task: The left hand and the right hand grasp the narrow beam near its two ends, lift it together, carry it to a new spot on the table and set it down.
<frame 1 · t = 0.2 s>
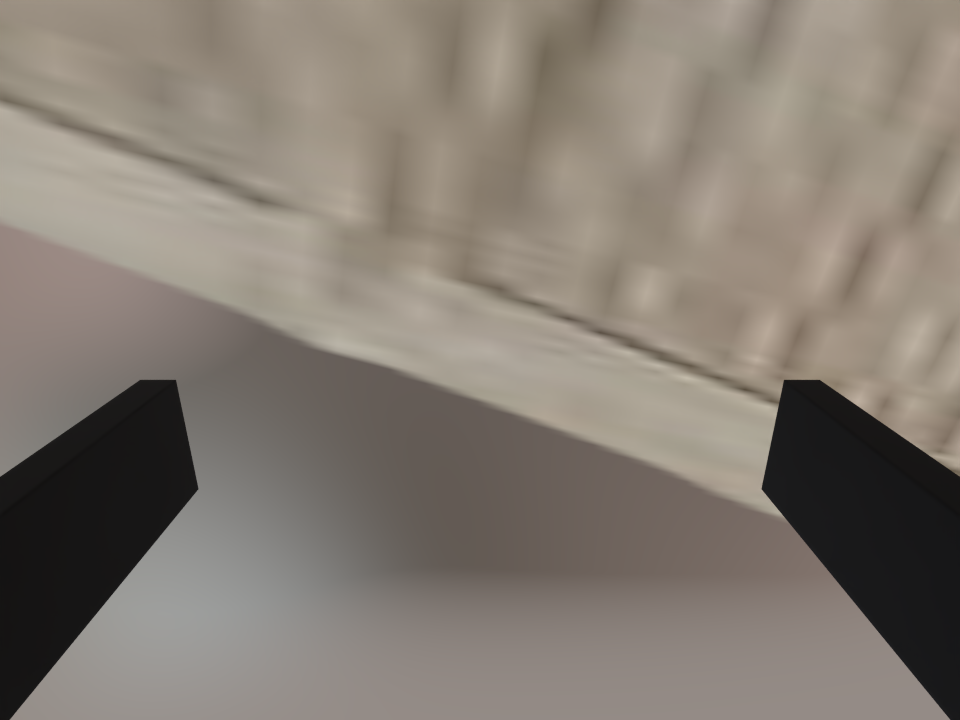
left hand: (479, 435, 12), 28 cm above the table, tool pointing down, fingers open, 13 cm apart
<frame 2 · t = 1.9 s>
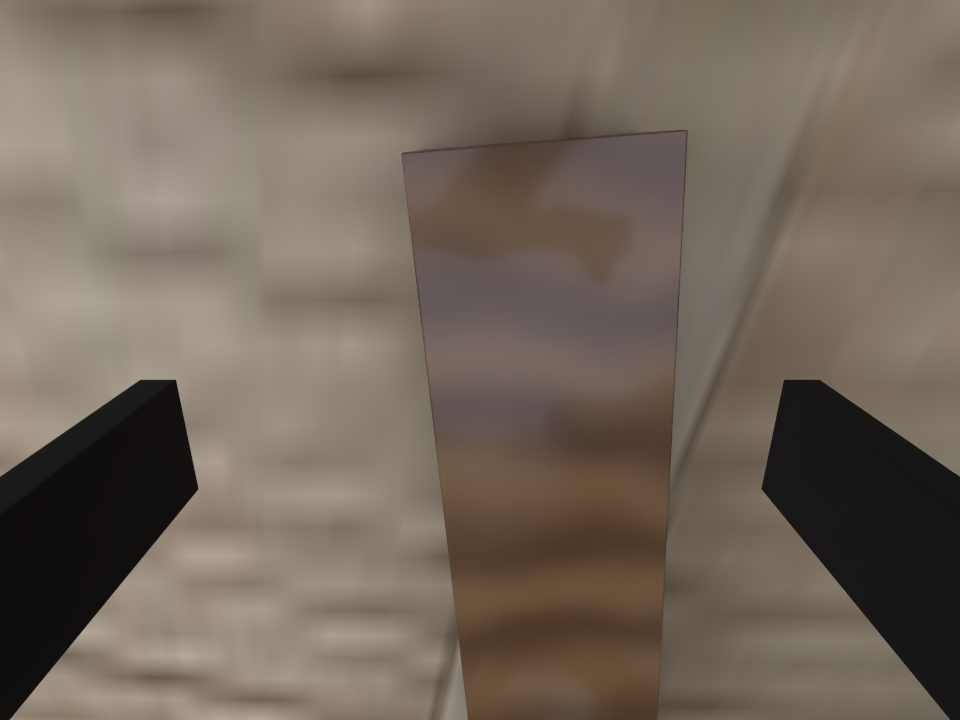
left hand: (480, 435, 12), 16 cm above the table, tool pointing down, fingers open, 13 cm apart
narrow beam: (549, 622, 36), on the table
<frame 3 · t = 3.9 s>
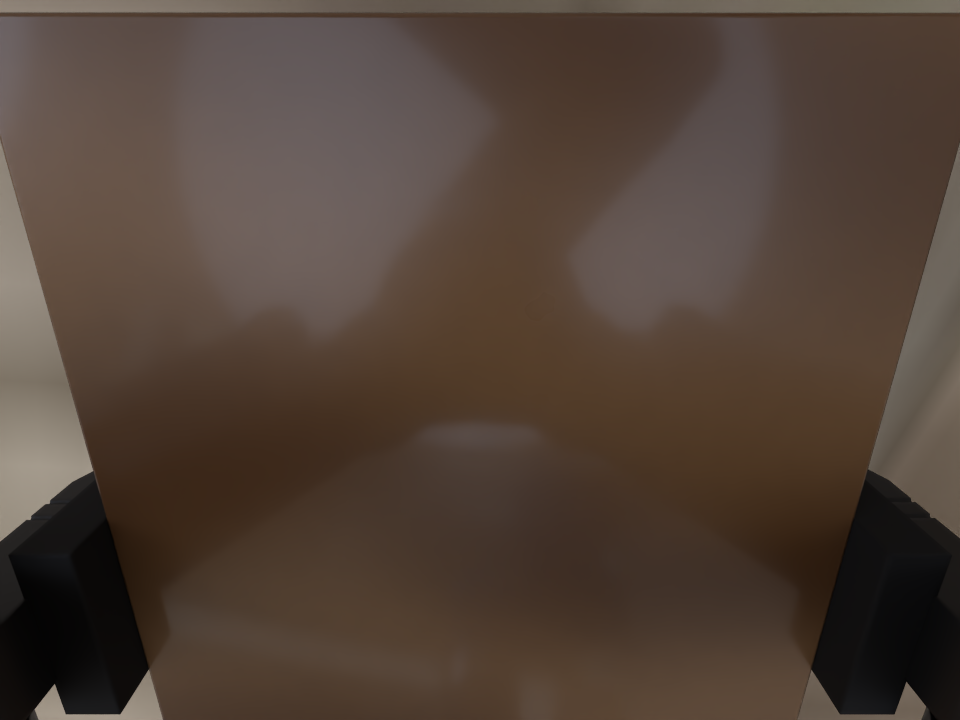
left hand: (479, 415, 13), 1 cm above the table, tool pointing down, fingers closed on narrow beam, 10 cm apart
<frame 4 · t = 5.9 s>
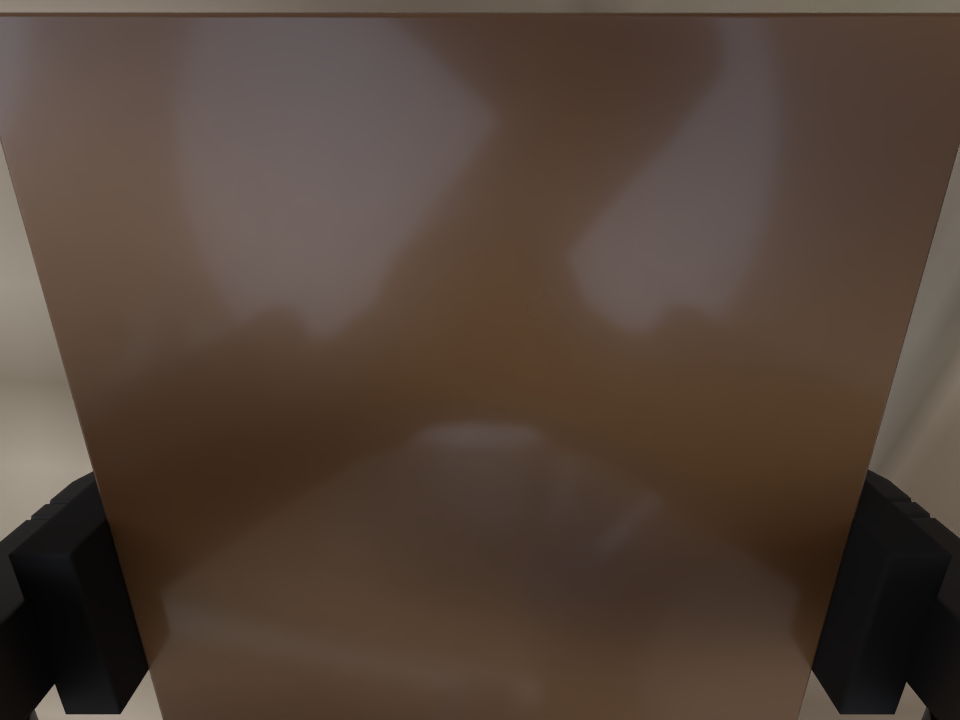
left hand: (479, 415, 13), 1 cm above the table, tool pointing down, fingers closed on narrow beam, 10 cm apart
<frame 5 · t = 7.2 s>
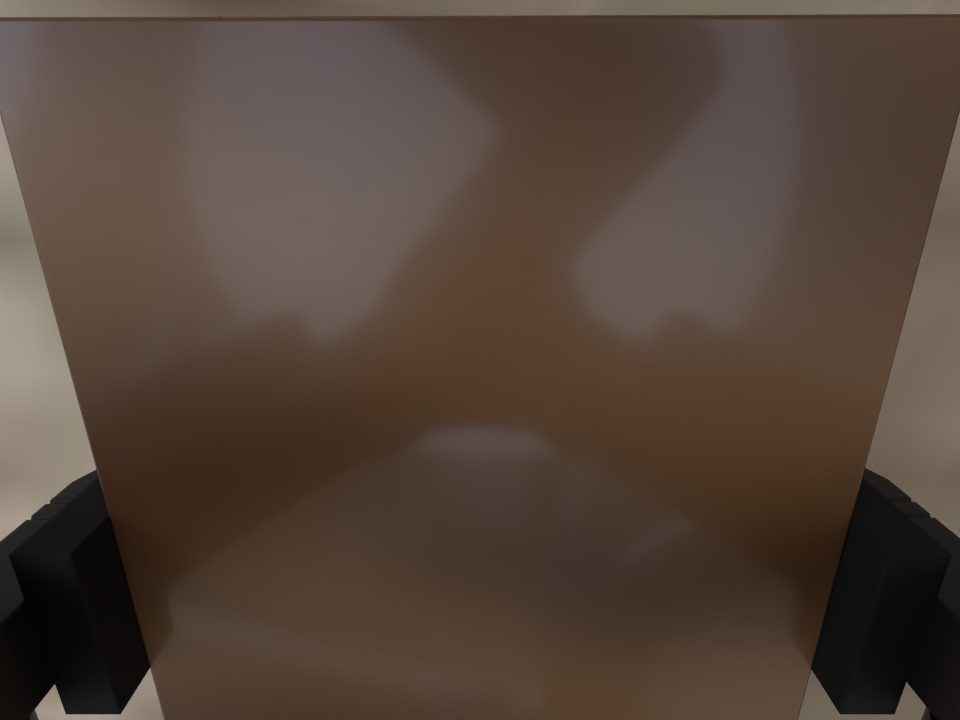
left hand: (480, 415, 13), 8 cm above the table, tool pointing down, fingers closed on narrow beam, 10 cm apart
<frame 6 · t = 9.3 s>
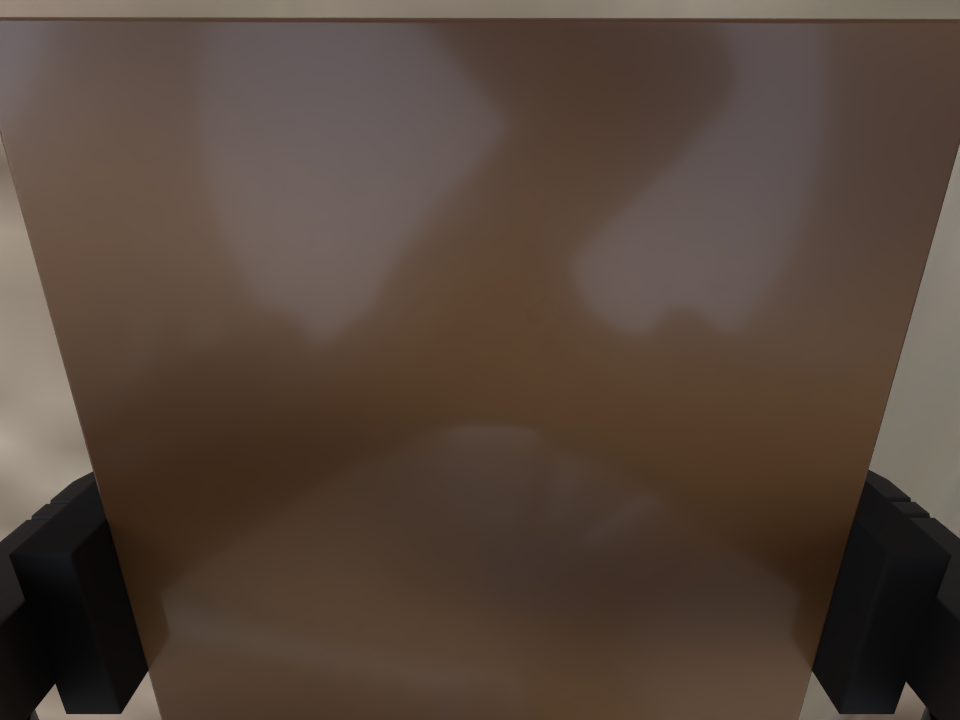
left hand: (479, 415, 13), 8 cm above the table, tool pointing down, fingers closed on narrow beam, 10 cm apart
when the left hand's fingers open (1 cm above the table, at t = 10.8 s): narrow beam stays where it is, on the table.
when the right hand's fingers open (1 cm above the table, at t = 10.8 s): narrow beam stays where it is, on the table.
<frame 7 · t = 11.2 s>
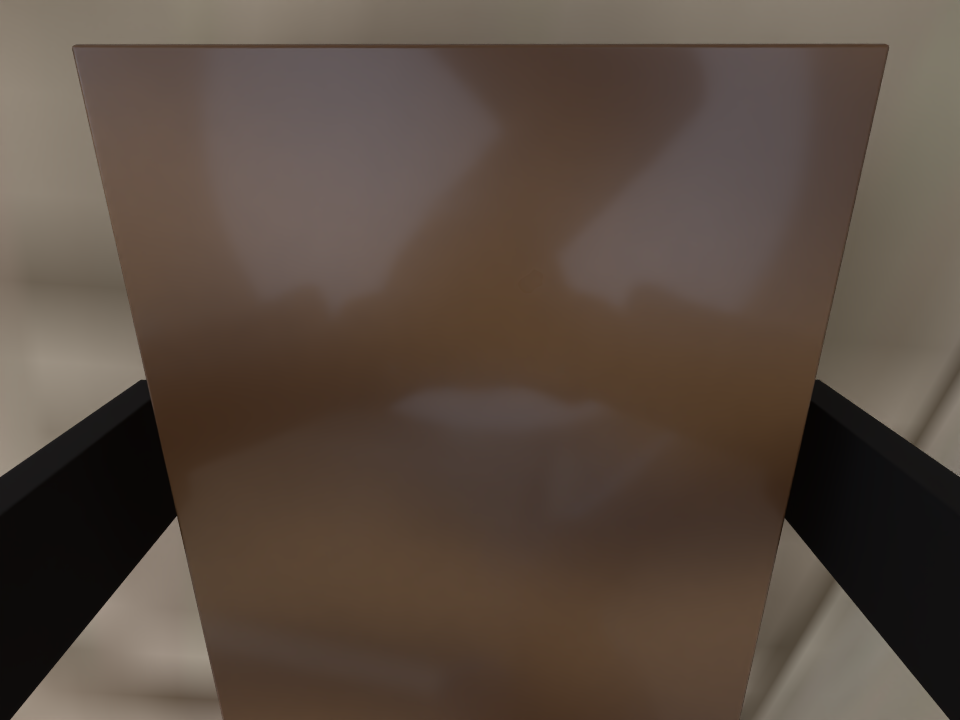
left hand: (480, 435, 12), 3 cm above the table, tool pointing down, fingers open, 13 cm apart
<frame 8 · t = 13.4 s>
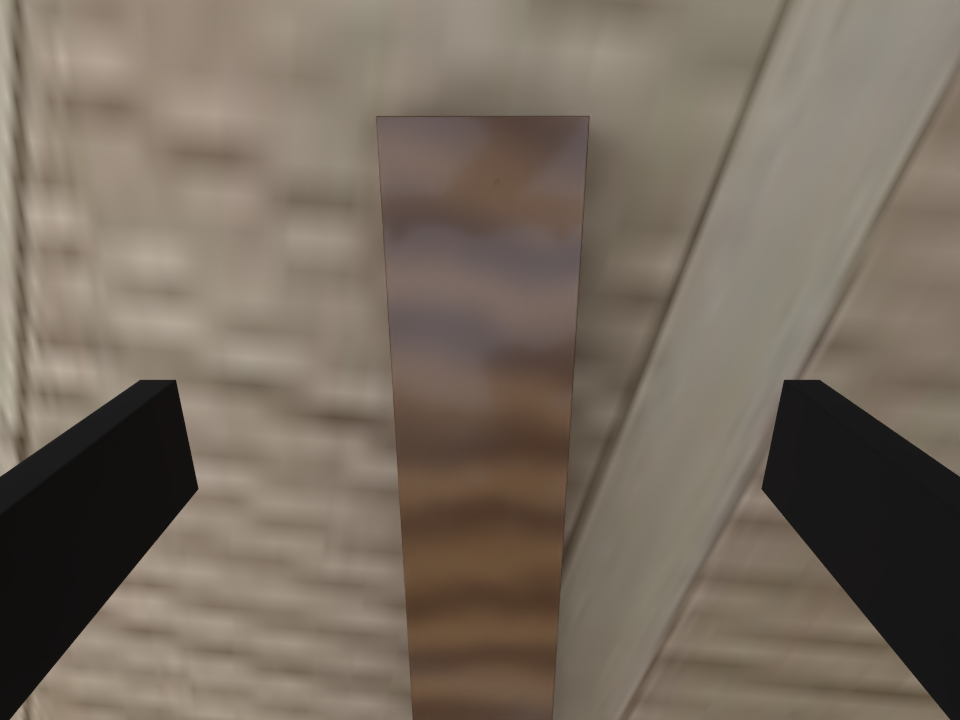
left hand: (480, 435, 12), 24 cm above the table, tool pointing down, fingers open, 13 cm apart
narrow beam: (482, 533, 42), on the table
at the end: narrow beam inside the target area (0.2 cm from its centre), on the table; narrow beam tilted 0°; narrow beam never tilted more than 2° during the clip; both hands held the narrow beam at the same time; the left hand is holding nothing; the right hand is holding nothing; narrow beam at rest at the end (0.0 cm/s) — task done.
